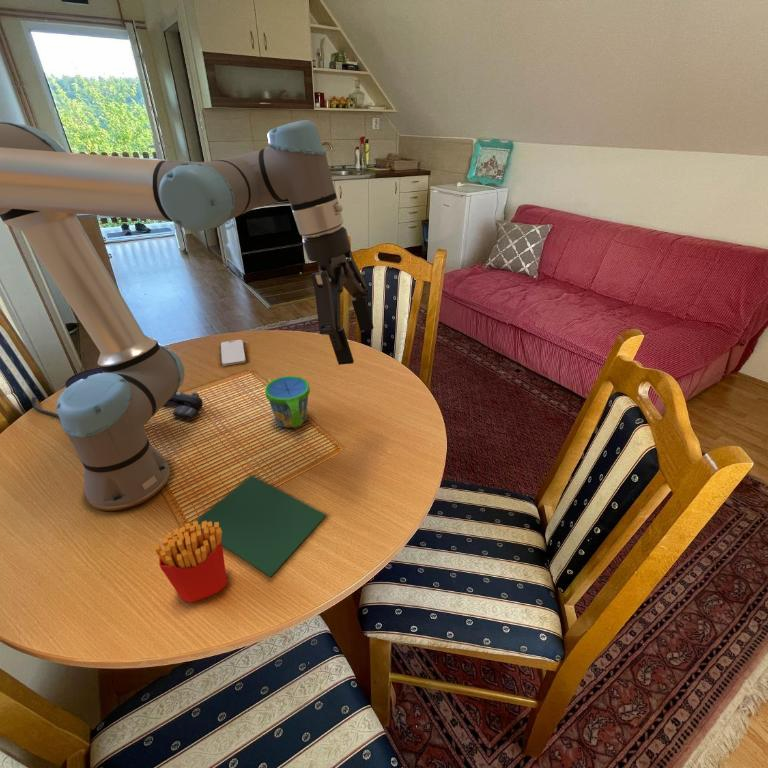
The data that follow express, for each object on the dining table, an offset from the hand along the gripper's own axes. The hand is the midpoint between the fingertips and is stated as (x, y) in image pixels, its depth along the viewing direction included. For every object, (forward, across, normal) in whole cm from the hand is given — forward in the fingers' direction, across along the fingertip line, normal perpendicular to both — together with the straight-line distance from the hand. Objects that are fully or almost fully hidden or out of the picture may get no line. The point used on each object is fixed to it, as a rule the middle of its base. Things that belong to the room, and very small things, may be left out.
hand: (357, 345), depth 79 cm
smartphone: (+16, +36, +60) cm, 71 cm away
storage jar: (+13, -7, +66) cm, 68 cm away
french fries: (+23, -37, +22) cm, 48 cm away
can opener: (+15, +5, +58) cm, 60 cm away
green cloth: (+24, -23, +20) cm, 38 cm away
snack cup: (+23, +8, +27) cm, 37 cm away
